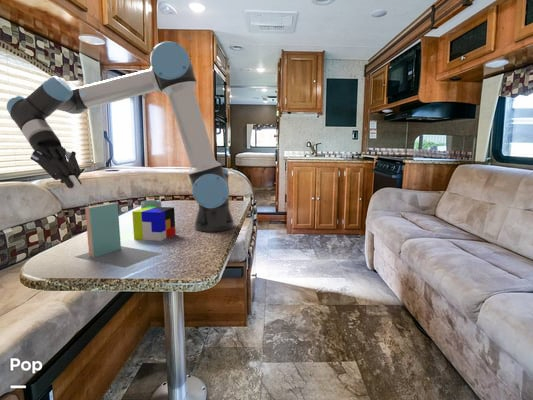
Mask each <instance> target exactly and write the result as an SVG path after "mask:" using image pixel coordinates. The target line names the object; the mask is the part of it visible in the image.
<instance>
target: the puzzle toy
mask: <svg viewBox="0 0 533 400" xmlns="http://www.w3.org/2000/svg"><path fill="white" fill-rule="evenodd" d="M175 213H176V212H175V207H174V206H173V207H172V206H171V207H170V206H169V207H167V206H164V207H163V206H162V207H146V208H143V209H141V208H140V209H136V210H133V211H132V226H133V227H132V228H133V239H134V240H141V241H142V240H143V241H145V240H146V241H160V242H161V241H163V240H166V239H170V238H172V237H174V236H176V235H177V234H176V220H175V219H176V218H175Z"/></svg>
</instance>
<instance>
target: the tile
mask: <svg viewBox="0 0 533 400" xmlns="http://www.w3.org/2000/svg"><path fill="white" fill-rule="evenodd" d="M84 209H85V210H84V211H85V222H86V224H85V225H86V234H87V244H88V253H89V256H90V257H97V256H100V255H103V254H106V253H109V252H112V251H116V250H119V249H121V246H122V244H121V232H120V217H119V205H118V203H117V202H111V203H110V202H109V203H103V204H98V205H92V206H91V205H90V206H85V208H84Z"/></svg>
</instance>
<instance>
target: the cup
mask: <svg viewBox="0 0 533 400" xmlns="http://www.w3.org/2000/svg"><path fill="white" fill-rule="evenodd" d="M146 207H163V206H162V200H159V199H151V200H143V201H141V202H140V209H143V208H146Z"/></svg>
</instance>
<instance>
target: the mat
mask: <svg viewBox="0 0 533 400" xmlns="http://www.w3.org/2000/svg"><path fill="white" fill-rule="evenodd" d="M162 254H163V253H162V252H157V251H151V250H145V249H139V248H133V247H127V246H124V245H123V246H122V245H121V249H119V250H116V251H112V252H109V253H106V254H103V255H100V256H97V257H90V256H89V252H86V253H82V254H78V255H76V256H74V258H78V259H83V260H87V261H92V262H97V263H101V264H107V265H110V266H111V265H112V266H116V267H121V268H127V267H130V266H133V265H136V264H138V263H140V262H144V261H146V260H149V259H150V258H154V257H157V256H159V255H162Z"/></svg>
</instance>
